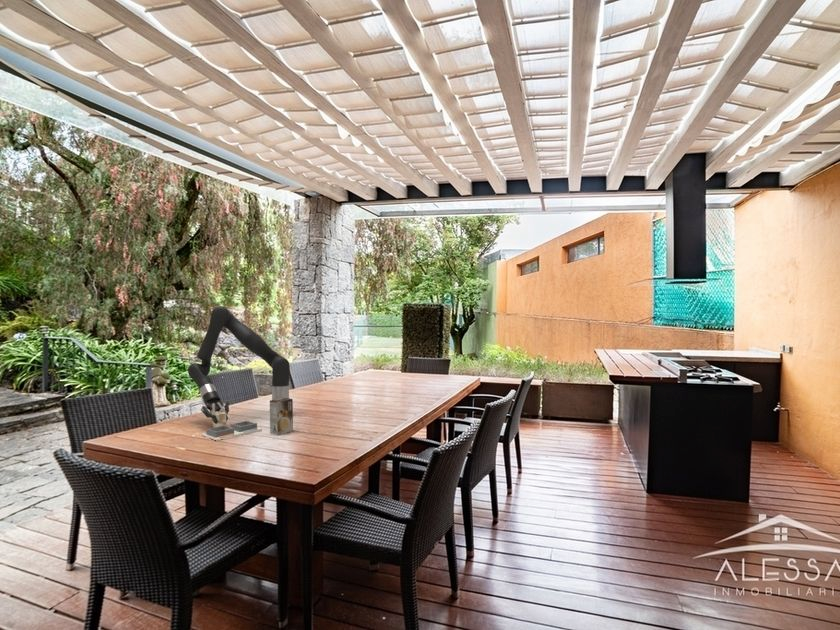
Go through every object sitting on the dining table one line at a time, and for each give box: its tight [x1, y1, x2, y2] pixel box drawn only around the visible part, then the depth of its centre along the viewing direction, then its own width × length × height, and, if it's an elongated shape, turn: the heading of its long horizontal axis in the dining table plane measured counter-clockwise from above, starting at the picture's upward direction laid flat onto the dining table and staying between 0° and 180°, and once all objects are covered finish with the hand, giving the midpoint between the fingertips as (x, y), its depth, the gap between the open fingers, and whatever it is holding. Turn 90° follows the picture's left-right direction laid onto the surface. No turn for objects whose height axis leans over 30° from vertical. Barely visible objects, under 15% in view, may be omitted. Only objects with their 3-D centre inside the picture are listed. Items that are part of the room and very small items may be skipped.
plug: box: [212, 412, 227, 428], centre depth 226 cm, size 4×4×8 cm
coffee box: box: [269, 397, 294, 436], centre depth 220 cm, size 9×6×16 cm
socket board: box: [201, 420, 262, 441], centre depth 218 cm, size 23×14×4 cm, turn 142°
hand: (221, 421), depth 224 cm, fingers closed on plug, 4 cm apart
